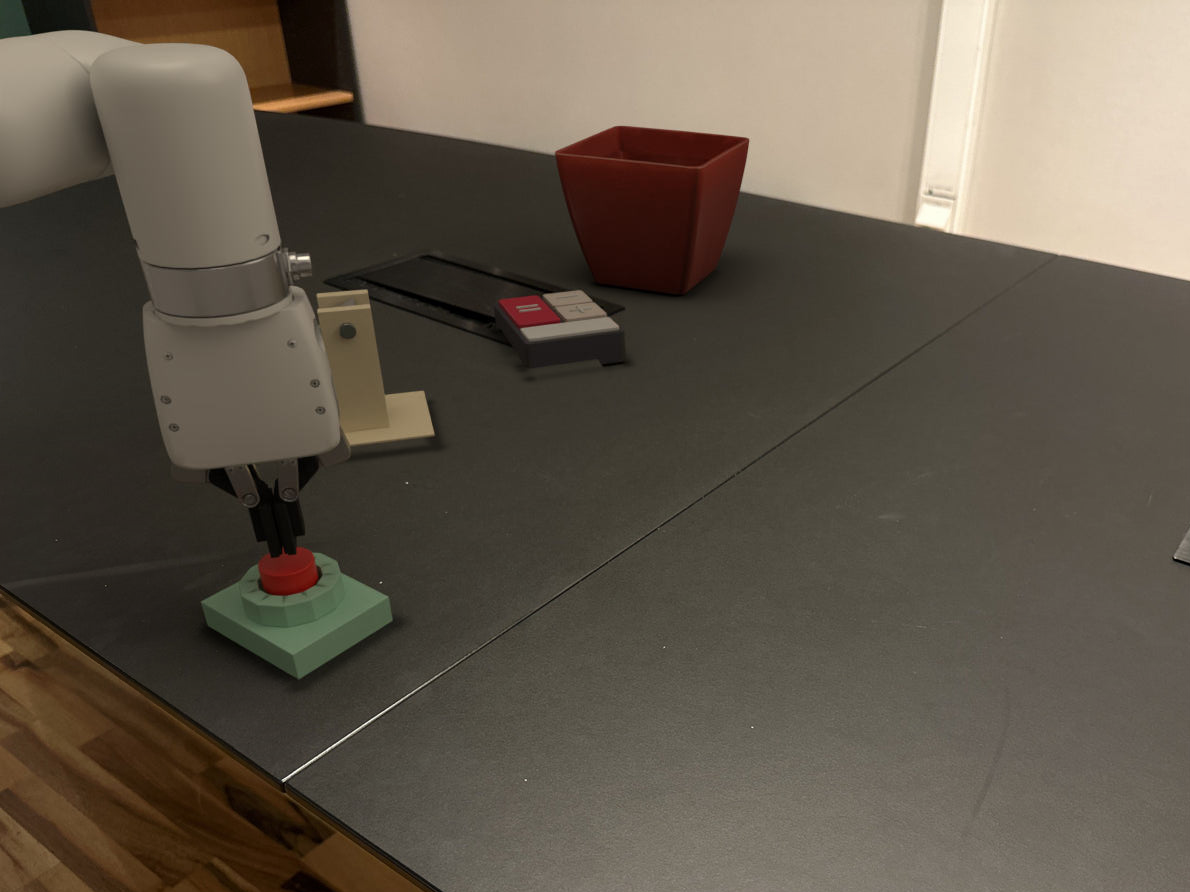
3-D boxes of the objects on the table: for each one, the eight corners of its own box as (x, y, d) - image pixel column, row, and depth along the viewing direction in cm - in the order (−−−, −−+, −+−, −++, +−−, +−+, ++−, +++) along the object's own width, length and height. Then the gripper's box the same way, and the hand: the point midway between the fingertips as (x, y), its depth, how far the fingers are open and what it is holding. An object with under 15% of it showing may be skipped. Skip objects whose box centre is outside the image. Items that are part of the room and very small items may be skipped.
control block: (207, 626, 74) (193, 580, 72) (303, 574, 79) (292, 530, 77) (298, 680, 69) (286, 632, 67) (393, 621, 75) (385, 575, 73)
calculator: (583, 286, 124) (625, 323, 113) (586, 321, 127) (627, 361, 115) (492, 297, 121) (524, 336, 109) (495, 333, 123) (528, 376, 111)
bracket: (299, 462, 94) (269, 327, 87) (298, 415, 102) (271, 287, 95) (436, 445, 98) (418, 313, 91) (425, 401, 105) (407, 276, 99)
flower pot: (620, 247, 150) (616, 122, 141) (747, 264, 145) (752, 136, 135) (559, 288, 134) (550, 151, 125) (698, 309, 129) (700, 168, 120)
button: (252, 585, 72) (246, 563, 71) (296, 561, 74) (291, 540, 74) (285, 603, 70) (280, 581, 69) (329, 578, 73) (325, 557, 72)
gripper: (351, 251, 66) (394, 502, 76) (85, 271, 62) (168, 535, 72) (356, 289, 60) (403, 557, 70) (63, 315, 56) (157, 596, 66)
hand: (284, 545), depth 71 cm, fingers closed
